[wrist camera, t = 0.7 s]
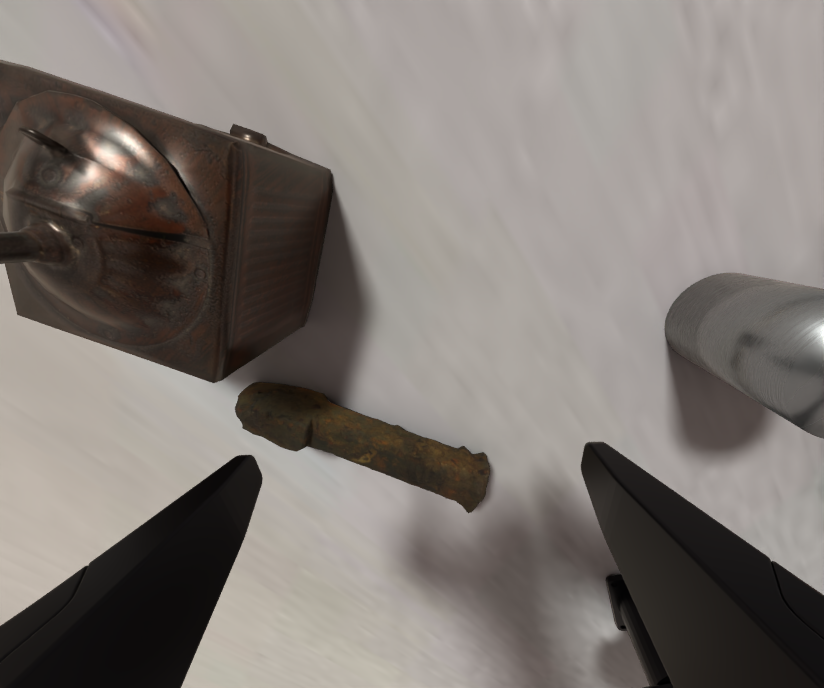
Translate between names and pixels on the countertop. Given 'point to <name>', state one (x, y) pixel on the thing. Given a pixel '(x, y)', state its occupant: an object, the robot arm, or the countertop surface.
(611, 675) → the countertop surface
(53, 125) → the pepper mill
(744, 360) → the peg
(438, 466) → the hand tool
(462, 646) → the countertop surface
